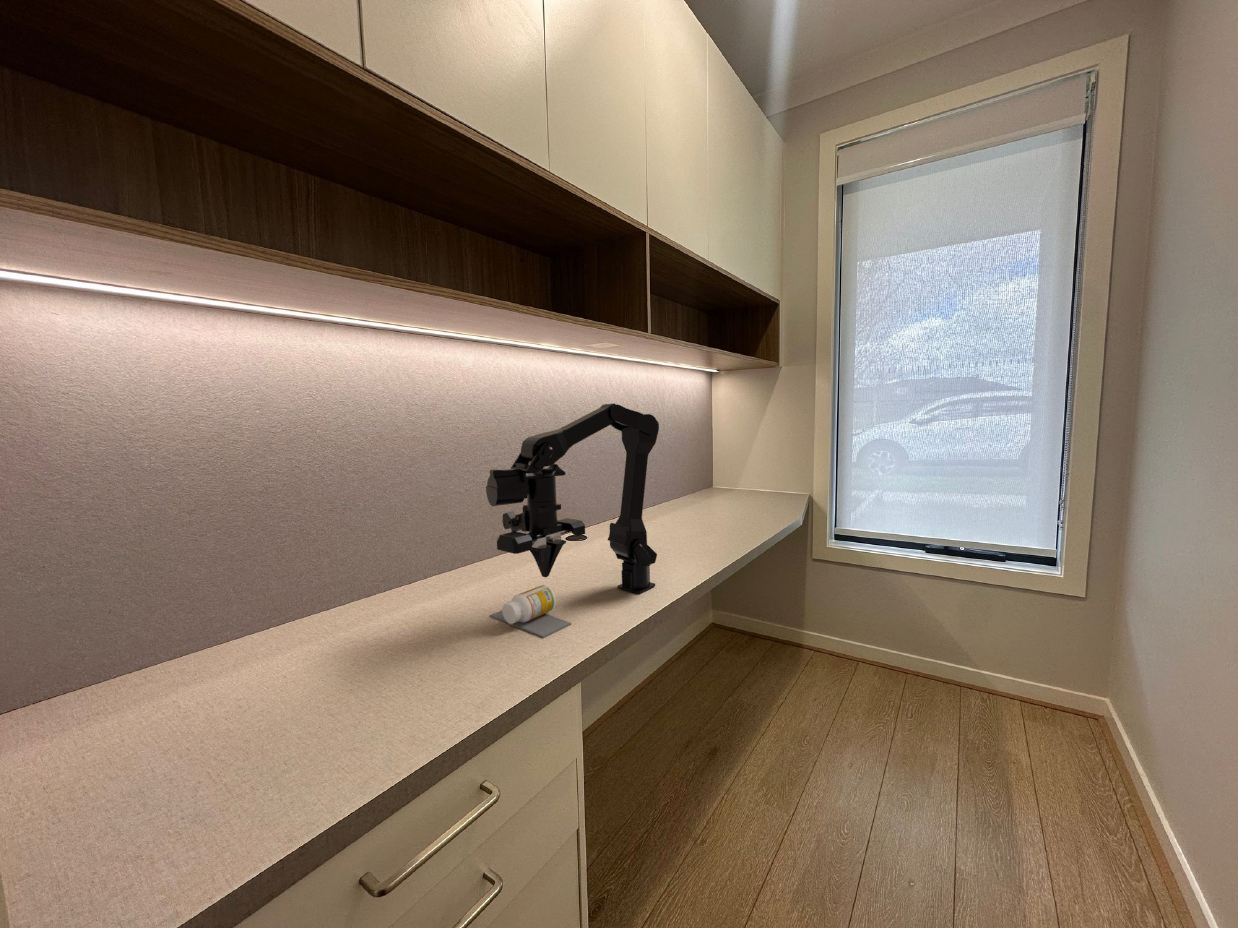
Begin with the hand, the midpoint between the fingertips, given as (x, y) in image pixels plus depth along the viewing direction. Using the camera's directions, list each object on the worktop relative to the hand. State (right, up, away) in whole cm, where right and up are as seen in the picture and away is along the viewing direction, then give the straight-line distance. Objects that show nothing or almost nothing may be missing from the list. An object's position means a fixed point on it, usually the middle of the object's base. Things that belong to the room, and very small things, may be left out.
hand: (545, 576), depth 97 cm
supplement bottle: (0, -4, +1) cm, 5 cm away
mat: (-3, -8, -3) cm, 9 cm away
